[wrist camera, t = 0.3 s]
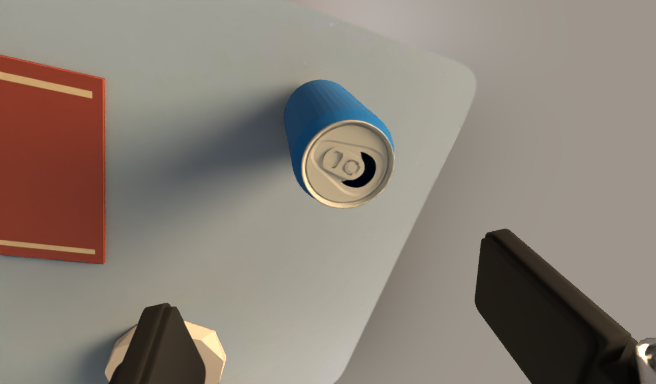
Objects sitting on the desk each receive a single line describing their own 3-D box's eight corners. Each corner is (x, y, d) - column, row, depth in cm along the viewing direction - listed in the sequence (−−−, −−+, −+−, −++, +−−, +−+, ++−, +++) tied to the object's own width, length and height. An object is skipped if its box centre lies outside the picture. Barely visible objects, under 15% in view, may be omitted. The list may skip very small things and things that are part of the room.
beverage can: (331, 160, 32) (363, 228, 22) (270, 130, 30) (274, 190, 20) (367, 101, 30) (422, 145, 20) (305, 63, 28) (330, 90, 18)
